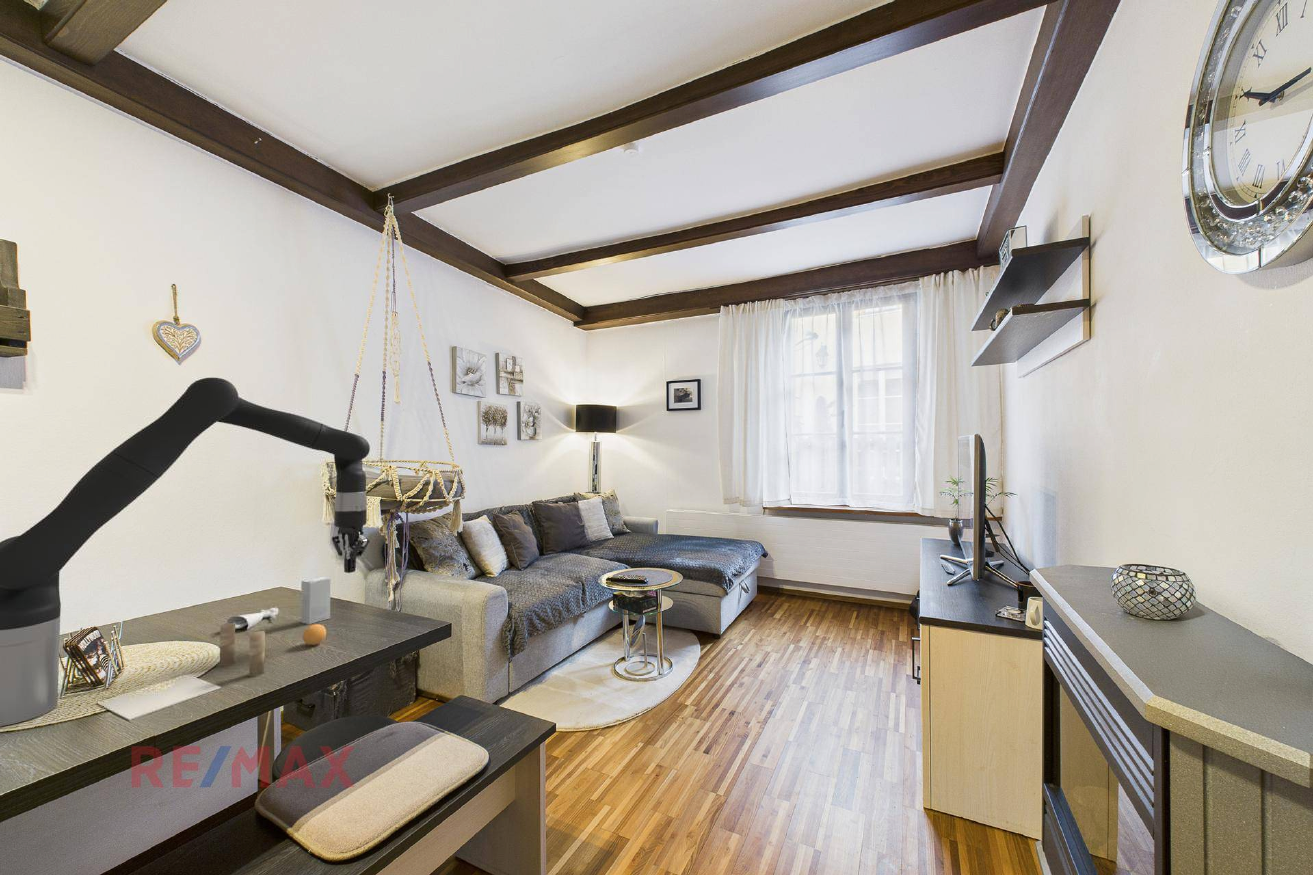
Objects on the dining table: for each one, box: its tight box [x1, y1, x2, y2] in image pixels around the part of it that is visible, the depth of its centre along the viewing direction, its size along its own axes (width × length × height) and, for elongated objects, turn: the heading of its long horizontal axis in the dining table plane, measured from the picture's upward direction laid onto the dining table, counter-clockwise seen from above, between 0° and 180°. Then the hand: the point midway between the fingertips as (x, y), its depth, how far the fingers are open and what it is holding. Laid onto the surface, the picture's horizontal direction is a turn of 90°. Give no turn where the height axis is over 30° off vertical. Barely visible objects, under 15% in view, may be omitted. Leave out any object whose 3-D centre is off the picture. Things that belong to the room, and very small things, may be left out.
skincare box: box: [300, 576, 331, 625], centre depth 148 cm, size 6×4×12 cm
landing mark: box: [97, 674, 222, 721], centre depth 103 cm, size 14×14×1 cm
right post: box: [248, 630, 266, 678], centre depth 113 cm, size 3×3×9 cm
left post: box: [219, 623, 236, 667], centre depth 118 cm, size 3×3×9 cm
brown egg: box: [302, 623, 327, 646], centre depth 130 cm, size 5×5×5 cm
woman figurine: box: [224, 605, 279, 631], centre depth 146 cm, size 12×4×18 cm
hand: (349, 572), depth 138 cm, fingers closed
